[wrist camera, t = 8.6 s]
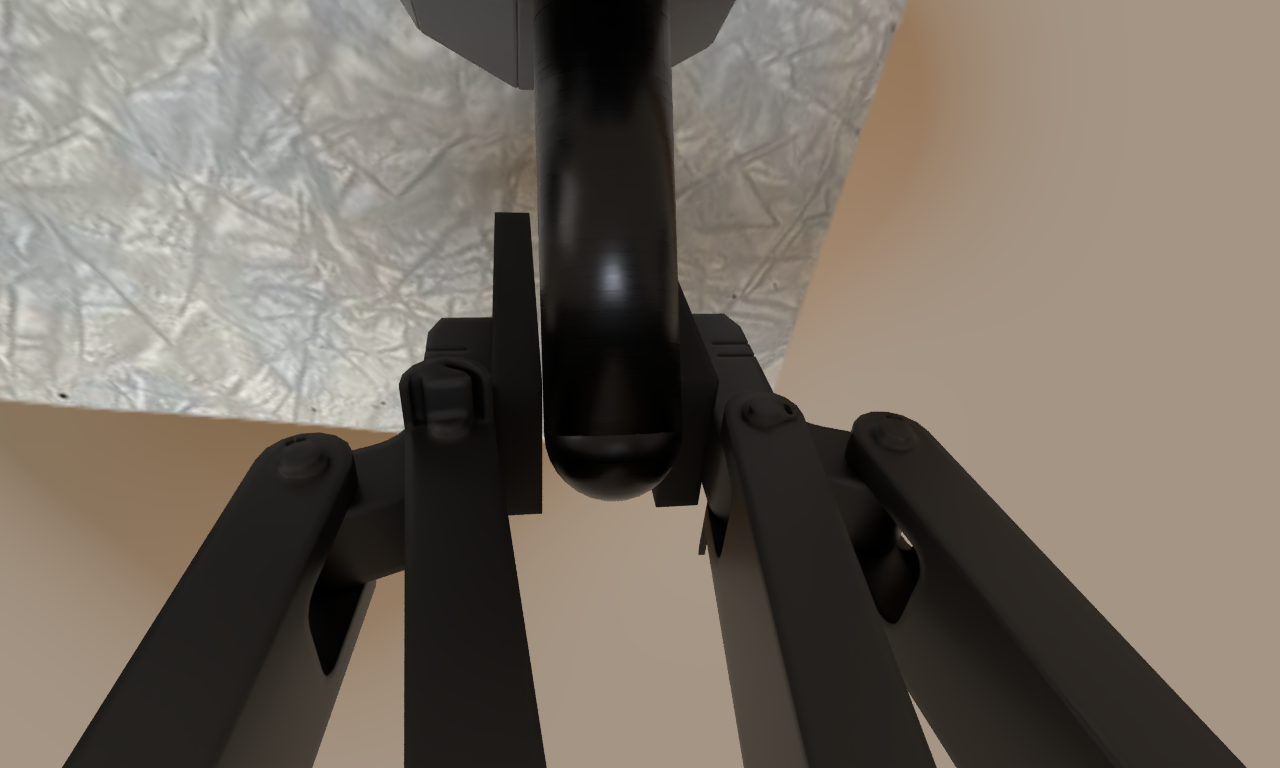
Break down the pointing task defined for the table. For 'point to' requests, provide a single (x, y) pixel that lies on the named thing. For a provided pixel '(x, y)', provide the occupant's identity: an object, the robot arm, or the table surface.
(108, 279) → the table surface
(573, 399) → the saucepan
